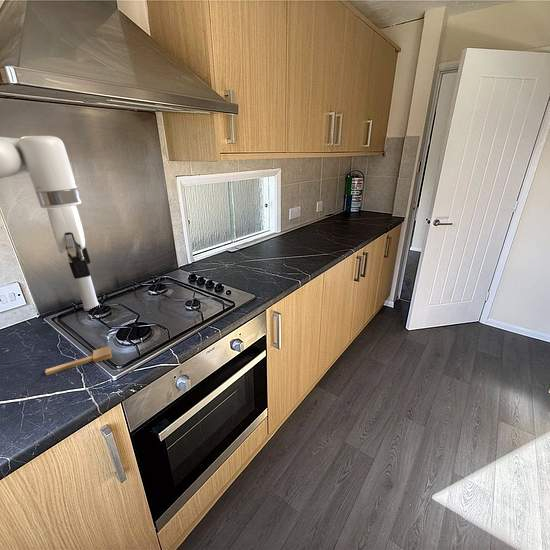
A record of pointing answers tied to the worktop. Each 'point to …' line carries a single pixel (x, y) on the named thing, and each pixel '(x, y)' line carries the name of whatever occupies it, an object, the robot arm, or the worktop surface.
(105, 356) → the wooden spatula
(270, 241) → the worktop surface
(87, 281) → the bottle
